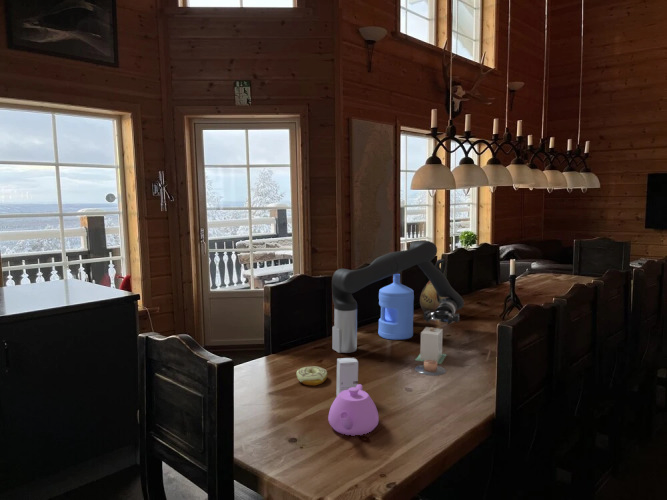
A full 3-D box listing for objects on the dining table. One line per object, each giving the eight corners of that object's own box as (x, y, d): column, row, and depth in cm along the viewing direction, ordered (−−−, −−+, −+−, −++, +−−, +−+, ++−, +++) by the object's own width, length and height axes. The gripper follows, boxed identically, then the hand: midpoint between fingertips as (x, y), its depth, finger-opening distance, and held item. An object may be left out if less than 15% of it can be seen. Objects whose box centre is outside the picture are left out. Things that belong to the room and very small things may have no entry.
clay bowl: (429, 373, 173) (429, 364, 173) (420, 368, 177) (421, 360, 177) (439, 370, 175) (440, 362, 175) (431, 366, 180) (431, 358, 179)
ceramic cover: (437, 361, 185) (438, 331, 183) (420, 359, 187) (420, 329, 186) (441, 354, 193) (442, 325, 192) (425, 352, 196) (426, 324, 194)
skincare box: (339, 401, 150) (339, 363, 149) (335, 395, 155) (336, 358, 153) (358, 399, 152) (358, 361, 150) (354, 393, 156) (354, 356, 155)
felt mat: (441, 364, 183) (441, 363, 183) (414, 361, 187) (414, 360, 187) (446, 355, 194) (446, 354, 194) (422, 352, 198) (422, 351, 198)
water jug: (403, 329, 231) (404, 270, 228) (419, 338, 216) (420, 276, 213) (372, 332, 226) (373, 272, 223) (387, 342, 211) (388, 278, 208)
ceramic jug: (437, 320, 247) (438, 262, 244) (413, 315, 258) (414, 259, 255) (457, 315, 258) (458, 259, 255) (433, 310, 270) (434, 256, 266)
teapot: (317, 441, 126) (317, 401, 125) (337, 409, 145) (337, 374, 144) (370, 449, 122) (371, 408, 121) (383, 414, 141) (384, 379, 140)
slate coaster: (427, 378, 169) (427, 377, 169) (408, 368, 179) (408, 367, 179) (452, 373, 174) (452, 372, 174) (432, 363, 184) (432, 362, 184)
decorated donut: (296, 387, 162) (296, 376, 161) (296, 375, 172) (296, 364, 172) (327, 386, 162) (327, 375, 162) (326, 374, 173) (326, 364, 173)
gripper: (429, 301, 216) (421, 310, 202) (462, 304, 211) (456, 313, 196) (429, 318, 217) (420, 327, 202) (462, 321, 212) (455, 331, 197)
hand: (438, 320), depth 199 cm, fingers open, 8 cm apart
